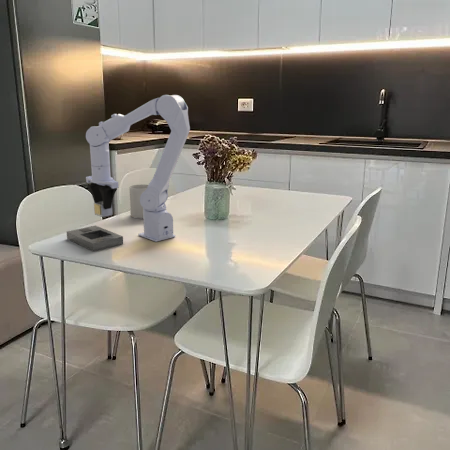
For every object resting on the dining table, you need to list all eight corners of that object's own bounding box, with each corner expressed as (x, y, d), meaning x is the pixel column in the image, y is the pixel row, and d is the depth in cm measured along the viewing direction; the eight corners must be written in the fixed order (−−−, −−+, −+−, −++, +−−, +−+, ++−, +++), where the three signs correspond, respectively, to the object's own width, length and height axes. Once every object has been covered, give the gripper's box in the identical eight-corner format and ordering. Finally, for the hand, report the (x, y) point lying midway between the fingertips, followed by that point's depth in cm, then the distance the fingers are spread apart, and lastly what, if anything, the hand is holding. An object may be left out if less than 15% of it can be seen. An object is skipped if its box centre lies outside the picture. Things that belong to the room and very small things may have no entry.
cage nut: (113, 214, 147) (112, 202, 146) (101, 217, 144) (100, 204, 143) (105, 212, 150) (105, 200, 148) (93, 214, 146) (93, 202, 145)
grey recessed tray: (123, 243, 137) (122, 236, 137) (93, 251, 130) (92, 243, 130) (96, 232, 148) (95, 225, 147) (67, 238, 141) (66, 231, 141)
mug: (125, 216, 168) (124, 187, 165) (141, 211, 175) (140, 183, 172) (151, 221, 162) (150, 191, 159) (165, 216, 169) (165, 187, 166)
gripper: (125, 166, 141) (127, 208, 145) (97, 161, 150) (100, 201, 154) (106, 168, 136) (109, 213, 139) (79, 163, 145) (82, 205, 148)
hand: (103, 207), depth 146 cm, fingers closed on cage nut, 4 cm apart
